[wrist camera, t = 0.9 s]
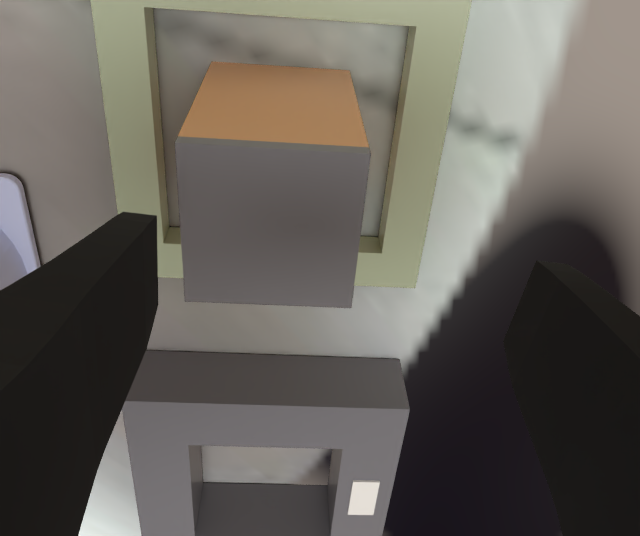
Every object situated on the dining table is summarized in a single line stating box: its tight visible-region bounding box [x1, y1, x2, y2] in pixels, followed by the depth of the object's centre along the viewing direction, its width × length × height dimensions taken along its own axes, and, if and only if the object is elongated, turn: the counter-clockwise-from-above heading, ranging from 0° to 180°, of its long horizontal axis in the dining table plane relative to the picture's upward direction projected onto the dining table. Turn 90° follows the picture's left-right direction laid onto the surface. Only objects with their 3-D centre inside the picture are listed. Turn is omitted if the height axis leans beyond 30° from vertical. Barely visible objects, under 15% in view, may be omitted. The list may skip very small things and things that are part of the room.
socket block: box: [122, 350, 410, 536], centre depth 28 cm, size 12×12×3 cm
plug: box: [175, 61, 371, 308], centre depth 18 cm, size 4×4×7 cm
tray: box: [91, 0, 472, 288], centre depth 20 cm, size 11×11×1 cm
